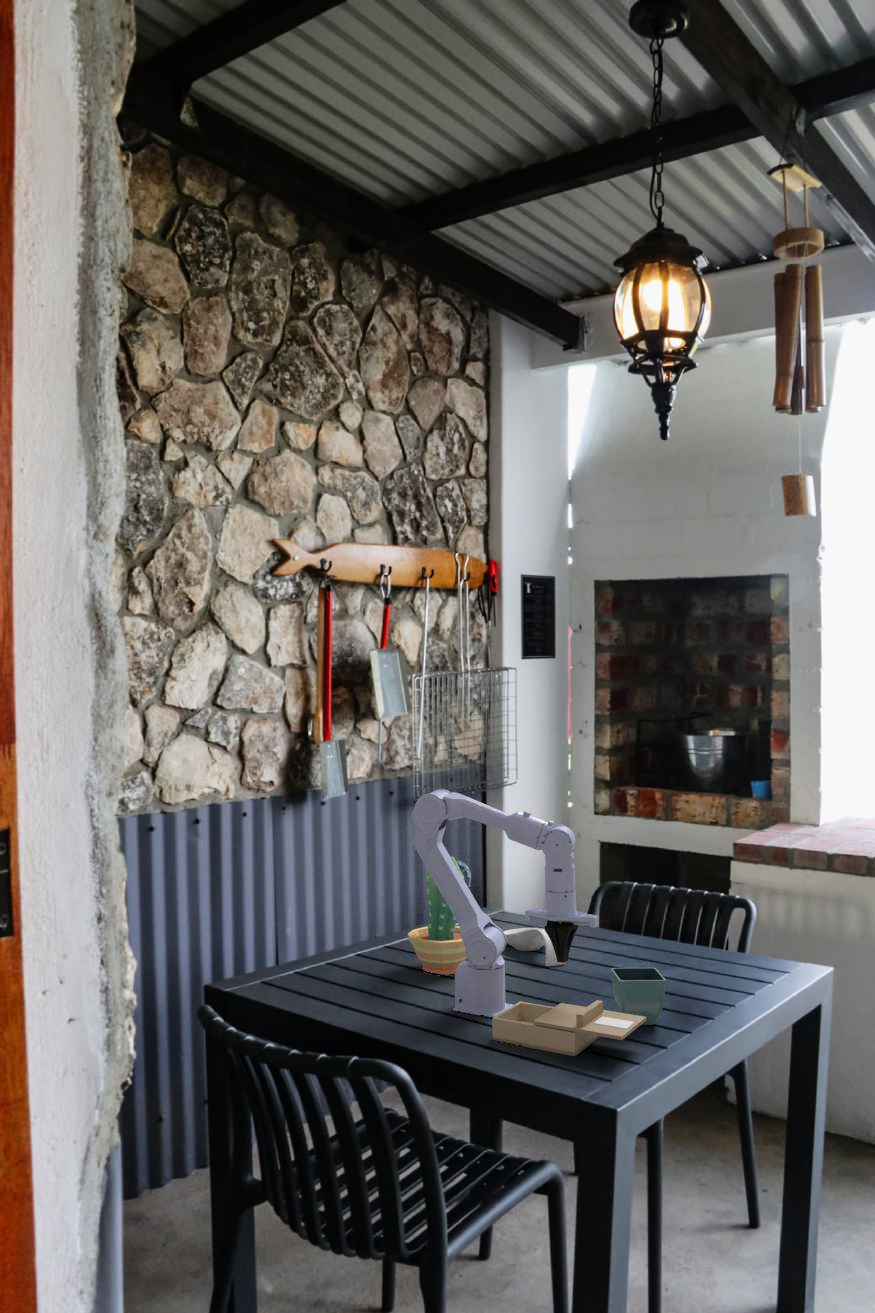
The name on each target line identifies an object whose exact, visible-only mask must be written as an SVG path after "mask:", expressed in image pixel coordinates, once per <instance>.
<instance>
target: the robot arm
mask: <svg viewBox="0 0 875 1313" xmlns="http://www.w3.org/2000/svg"><path fill="white" fill-rule="evenodd" d="M411 819H412V823H413V824H412V826H413V827H412V828H413V835H412V836H413V846H414V849H415V850H416V852H417V854H418V856H419V857H420V859H421V861H422V863H423V865H424V866H425V868H426V869H427V870H428V871H429V873H430V875H431V877H432V878H433V880H434V882H435V884H436V885H437V887H438V889H439V891H440V892H441V894H442V896H443V897H444V899H445V901H446V903H447V904H448V906H449V908H450V910H451V911H452V913H453V915H454V917H455V918H456V923H457V924H458V926H460V935H461V939H462V940H463V942H464V945H465V952H466V956H467V958H466V960H465V961H463V962H461V963H460V964H459V965H458V967H457V970H456V973H455V974H454V1007H453V1009H452V1011H454V1012H458V1011H460V1013H464V1014H469V1013H470V1014H471V1015H474V1016H475V1015H476V1016H480V1015H484V1016H483V1017H486V1016H487V1018H491V1017H495V1016H497V1015H498V1014H500V1013H502V1012H503V1011H505V1010H507V1009H508V1008H510V1007H512V1006H513V1005H514V1004H512V1003H507V1002H506V961H505V959H504V958H503V955H502V953H503V952H504V951H505V949H506V947H507V941H506V936H505V934H504V930H503V929H502V928H501V927H499V926H498V925H496V924H495V923H494V922H493V920H492V919H491V917H490V916H489V915H488V914H487V913H485V912H484V911H483V910H482V909H481V907H480V905H479V904H478V902H477V900H476V899H475V897H474V895H473V893H472V892H471V890H470V887H469V886H468V884H467V883H466V880H465V881H464V879H463V878H462V876H461V874H460V873H459V871H458V869H457V867H456V866H455V864H454V862H453V861H452V859H451V855H450V854H449V851H448V850H447V848H446V846H445V845H444V843H443V837H444V834H445V830H446V827H447V825H448V823H449V822H450V821H456V820H460V819H468V820H471V821H475V822H477V823H481V824H484V825H487V826H490V827H493V828H497V829H499V830H502V831H503V832H505V834H506V837H507V838H508V840H510V841H513V842H516V843H518V844H521V845H523V846H526V847H528V848H531V849H534V850H536V851H542V853H543V854H544V857H545V858H544V859H545V866H544V877H545V880H544V881H545V909H541V908H538V909H537V908H528V909H526V910H524V920H525V921H528V922H530V921H536V922H545V923H546V925H545V926H544V928H543V929H545V931H546V933H547V935H548V936H549V938H550V940H551V942H552V945H553V948H554V951H555V954H556V958H557V962H561V963H564V962H565V963H566V962H568V961H569V956H570V951H571V950H570V949H571V946H572V944H573V940H574V937H575V935H576V933H577V930H578V929H579V926H583V927H584V926H585V927H590V928H592V929H595V928H597V927H598V926H600V925H599V923H600V922H599V915H597V914H589V913H586V912H581V911H577V899H576V898H577V897H576V896H577V894H576V891H577V890H576V866H575V857H574V855H575V854H574V853H575V852H574V851H573V850H574V848H576V842H577V841H576V840H577V839H576V836H575V835H576V834H575V833H574V831H573V830H572V829H571V828H569V827H568V826H566V825H565V824H562V823H559V824H556V825H554V824H555V821H553V820H548V821H546V820H543V819H541V818H538V817H536V816H533V815H532V812H531V811H529V810H524V811H523V812H522V811H516V812H514V813H512V814H509V813H507V812H504V811H502V810H499V809H497V808H495V807H493V806H490V805H488V804H485V803H483V802H480V801H479V800H476V799H474V798H471V797H469V796H467V795H464V794H461V793H459V792H454V791H452V792H451V791H449V790H448V789H444V788H438V789H435V790H433V791H431V792H429V793H426V794H422V795H421V796H420V797H419V798H418V799H417V800H416V802H415V804H414V807H413V809H412V812H411ZM427 870H426V871H427Z"/></svg>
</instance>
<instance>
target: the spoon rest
mask: <svg viewBox="0 0 875 1313" xmlns="http://www.w3.org/2000/svg"><path fill="white" fill-rule="evenodd" d="M503 932H504V934H505V936H506V941H507V942H506V944H508V945H509V946H511V947H512V948H514V949H516V950H517V951H524V952H525V951H527V952H528V951H529V952H530V951H531V952H532V951H537V950H540V949H541V948H542V947H543V946H544V947H545V967H557V966H563V965H566V962H564V963H561V962H557V958H556V954H555V951H554V948H553V945H552V942H551V940H550V938H549V936H548V935H547V933H546V931H545V928H541V927H521V928H512V929H508V930H503Z"/></svg>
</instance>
